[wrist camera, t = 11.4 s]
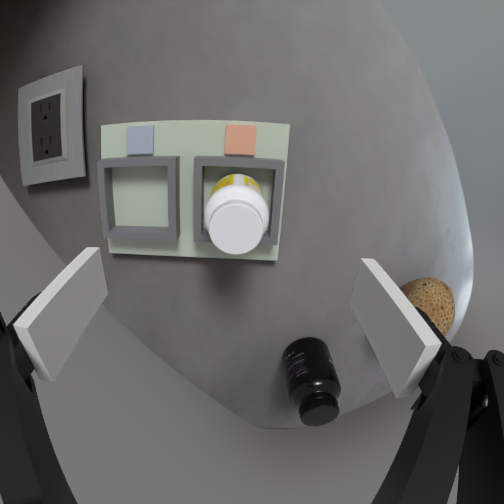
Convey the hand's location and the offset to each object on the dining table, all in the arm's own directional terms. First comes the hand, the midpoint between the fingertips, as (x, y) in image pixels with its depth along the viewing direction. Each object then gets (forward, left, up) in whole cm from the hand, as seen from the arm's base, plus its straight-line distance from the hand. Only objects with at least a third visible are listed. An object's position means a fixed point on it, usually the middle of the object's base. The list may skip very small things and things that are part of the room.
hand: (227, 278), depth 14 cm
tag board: (0, -5, -19) cm, 19 cm away
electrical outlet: (-8, -23, -19) cm, 31 cm away
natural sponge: (+12, +25, -19) cm, 33 cm away
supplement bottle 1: (0, 0, -18) cm, 18 cm away
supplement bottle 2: (+23, +11, -19) cm, 32 cm away
